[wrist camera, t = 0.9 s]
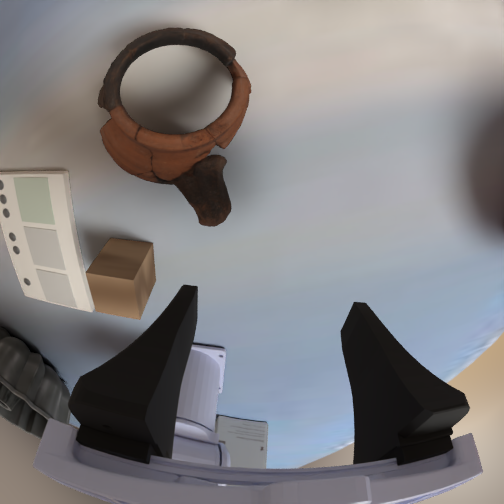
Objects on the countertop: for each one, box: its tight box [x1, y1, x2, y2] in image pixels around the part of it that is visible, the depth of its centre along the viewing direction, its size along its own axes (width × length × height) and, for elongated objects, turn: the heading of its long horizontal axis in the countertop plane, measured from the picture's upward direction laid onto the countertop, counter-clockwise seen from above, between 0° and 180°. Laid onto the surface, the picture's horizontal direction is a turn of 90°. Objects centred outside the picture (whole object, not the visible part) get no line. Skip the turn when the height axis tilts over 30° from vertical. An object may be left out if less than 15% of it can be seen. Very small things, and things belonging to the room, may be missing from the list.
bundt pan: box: [0, 327, 71, 439], centre depth 34 cm, size 26×26×10 cm
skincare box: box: [214, 416, 268, 486], centre depth 36 cm, size 8×6×15 cm
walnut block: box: [86, 238, 156, 320], centre depth 23 cm, size 4×4×5 cm
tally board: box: [0, 171, 95, 312], centre depth 24 cm, size 15×10×1 cm, turn 173°
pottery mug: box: [98, 28, 251, 227], centre depth 17 cm, size 12×10×8 cm
